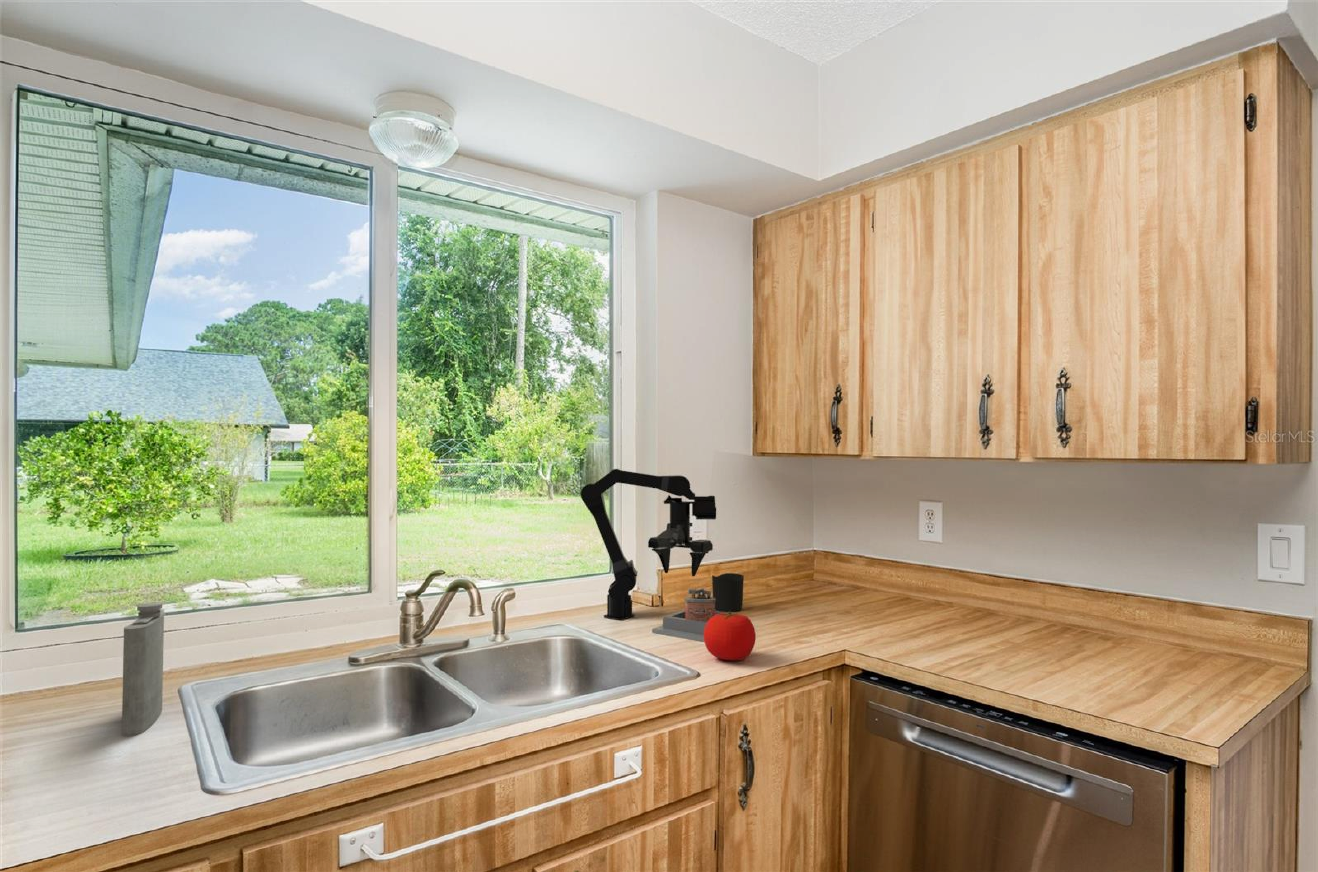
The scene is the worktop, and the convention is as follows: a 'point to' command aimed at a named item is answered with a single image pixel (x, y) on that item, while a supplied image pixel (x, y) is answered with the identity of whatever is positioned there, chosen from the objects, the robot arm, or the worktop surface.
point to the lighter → (699, 605)
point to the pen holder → (728, 592)
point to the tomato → (729, 636)
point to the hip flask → (143, 670)
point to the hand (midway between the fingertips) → (679, 574)
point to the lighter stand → (682, 626)
